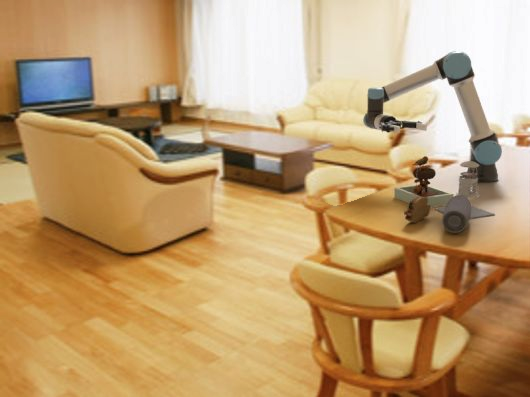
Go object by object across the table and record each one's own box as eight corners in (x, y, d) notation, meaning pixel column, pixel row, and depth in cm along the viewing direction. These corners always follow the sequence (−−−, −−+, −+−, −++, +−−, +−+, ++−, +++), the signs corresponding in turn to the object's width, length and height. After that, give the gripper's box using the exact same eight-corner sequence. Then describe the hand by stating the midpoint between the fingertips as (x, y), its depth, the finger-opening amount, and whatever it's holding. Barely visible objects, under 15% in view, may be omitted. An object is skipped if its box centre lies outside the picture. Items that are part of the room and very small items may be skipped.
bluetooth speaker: (446, 217, 226) (447, 192, 224) (471, 219, 223) (473, 194, 220) (439, 235, 206) (441, 207, 203) (467, 237, 202) (469, 210, 200)
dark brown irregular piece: (429, 206, 241) (427, 159, 237) (404, 205, 248) (402, 159, 244) (442, 198, 253) (440, 153, 249) (417, 197, 260) (416, 153, 256)
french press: (452, 195, 258) (455, 139, 252) (463, 190, 266) (466, 136, 260) (473, 199, 251) (477, 141, 245) (484, 193, 260) (488, 138, 253)
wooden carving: (420, 215, 230) (421, 191, 227) (431, 217, 227) (432, 192, 224) (401, 226, 217) (401, 200, 215) (412, 228, 215) (413, 202, 212)
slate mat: (467, 205, 242) (467, 204, 242) (494, 215, 227) (494, 213, 227) (435, 209, 237) (435, 208, 236) (461, 220, 222) (461, 219, 222)
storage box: (423, 193, 262) (424, 183, 261) (452, 204, 244) (453, 194, 243) (394, 197, 257) (394, 187, 256) (421, 208, 239) (422, 198, 238)
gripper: (408, 129, 276) (436, 135, 257) (362, 133, 268) (387, 139, 248) (409, 113, 274) (437, 118, 255) (362, 116, 266) (388, 122, 247)
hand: (412, 128), depth 252 cm, fingers open, 13 cm apart
